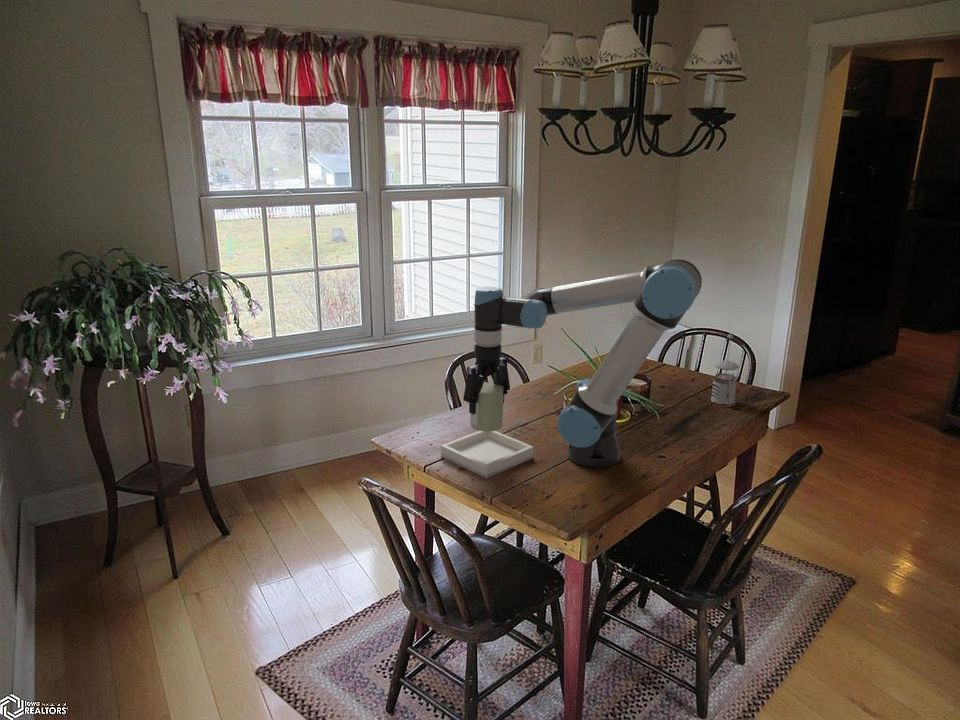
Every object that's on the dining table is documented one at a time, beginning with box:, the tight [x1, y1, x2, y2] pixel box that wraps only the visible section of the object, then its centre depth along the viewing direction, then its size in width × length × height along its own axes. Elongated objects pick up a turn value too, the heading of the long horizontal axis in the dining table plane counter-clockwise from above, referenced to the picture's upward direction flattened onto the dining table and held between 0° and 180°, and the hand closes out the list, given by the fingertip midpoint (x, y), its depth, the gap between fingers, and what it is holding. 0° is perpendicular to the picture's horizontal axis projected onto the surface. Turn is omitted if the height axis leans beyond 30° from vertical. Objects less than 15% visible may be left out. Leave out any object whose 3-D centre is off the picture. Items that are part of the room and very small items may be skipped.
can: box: [470, 381, 504, 432], centre depth 195 cm, size 9×9×12 cm
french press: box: [710, 334, 740, 404], centre depth 238 cm, size 10×12×25 cm
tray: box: [440, 430, 534, 480], centre depth 199 cm, size 19×19×4 cm
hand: (486, 419), depth 196 cm, fingers closed on can, 9 cm apart
